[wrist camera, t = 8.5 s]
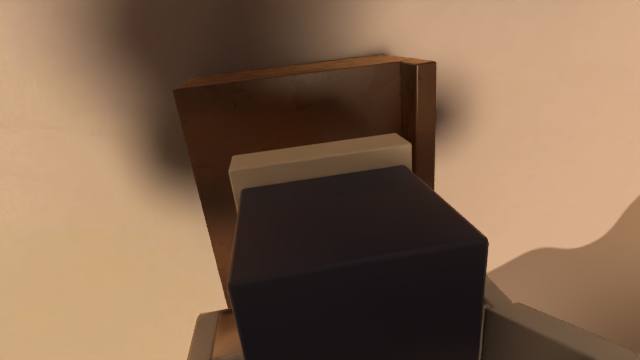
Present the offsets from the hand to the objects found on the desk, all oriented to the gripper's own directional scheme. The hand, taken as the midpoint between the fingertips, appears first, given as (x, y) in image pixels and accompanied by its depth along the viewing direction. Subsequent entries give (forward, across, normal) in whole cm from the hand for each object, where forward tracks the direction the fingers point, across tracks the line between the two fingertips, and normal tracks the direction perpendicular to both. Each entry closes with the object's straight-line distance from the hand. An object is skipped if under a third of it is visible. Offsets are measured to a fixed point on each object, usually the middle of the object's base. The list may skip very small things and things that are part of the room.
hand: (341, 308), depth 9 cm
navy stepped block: (+2, 0, +2) cm, 3 cm away
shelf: (+16, 0, +2) cm, 16 cm away
